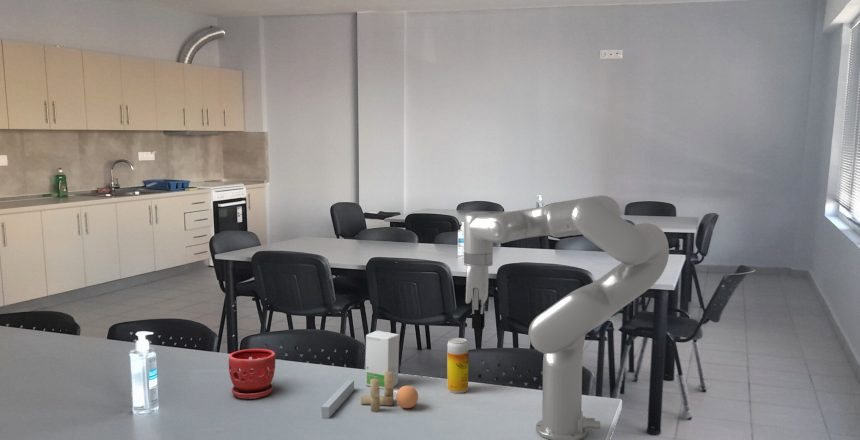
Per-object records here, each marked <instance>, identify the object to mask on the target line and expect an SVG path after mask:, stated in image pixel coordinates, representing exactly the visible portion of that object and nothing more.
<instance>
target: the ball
mask: <svg viewBox="0 0 860 440" xmlns="http://www.w3.org/2000/svg"><path fill="white" fill-rule="evenodd" d="M395 396H396V397H395V399H396V402H397V404H398V406H400V407H401V408H402V409H403V408H404V409H411V408H413V407H415V406H416V404H417V403H418V400H419V393H418V391H417V390H416V388H415V387H413V386H411V385H404V386H401V387H400V388H398V390H397V392H396V395H395Z"/></svg>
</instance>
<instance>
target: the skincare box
mask: <svg viewBox="0 0 860 440" xmlns="http://www.w3.org/2000/svg"><path fill="white" fill-rule="evenodd" d="M399 353H400V334H398V333H392V332H388V331H382V330H375V331H373V332H370V333H367V334H366V335H365V375H364V376H365V377H364V378H365V380H364V381H365V382H364V384H365V386H367V387H371V385H370V380H371V379H374V378H377V379H379V389H382V390H385V383H384V372H385V371H393V387H395V386H397V385H398V384H399V365H400V364H399V363H400V362H399V361H400V360H399V359H400V358H399V357H400V356H399V355H400V354H399Z"/></svg>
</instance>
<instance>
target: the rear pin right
mask: <svg viewBox="0 0 860 440" xmlns="http://www.w3.org/2000/svg"><path fill="white" fill-rule="evenodd" d="M384 383H385V389H384V396H386V397H393V398H394V386H393V371H385V372H384Z"/></svg>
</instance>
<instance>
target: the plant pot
mask: <svg viewBox="0 0 860 440" xmlns="http://www.w3.org/2000/svg"><path fill="white" fill-rule="evenodd" d="M250 358H251V359H250ZM275 369H276V353H275V351H273V350H271V349H266V348H248V349H242V350H237V351H233V352H231V353H230V354H229V355H228V372H229V377H230V380H231V381H230V382H231V383H232V385H233V387H232V388H231V393H232V394H233V395H234V396H235V397H237V398H240V399H245V400H246V399H247V400H252V399H258V398H263V397H265V396H267V395H269V394H270V393H271V392H272V391H273V389H274V386H273V384H272V381H273V379H274V377H275V376H274V375H275V371H276V370H275Z"/></svg>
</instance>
